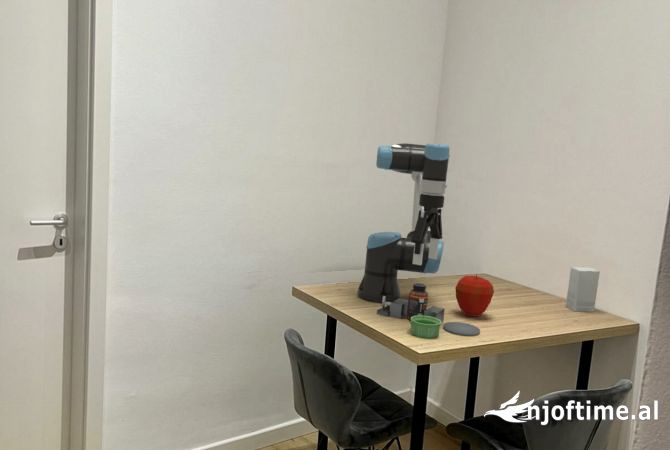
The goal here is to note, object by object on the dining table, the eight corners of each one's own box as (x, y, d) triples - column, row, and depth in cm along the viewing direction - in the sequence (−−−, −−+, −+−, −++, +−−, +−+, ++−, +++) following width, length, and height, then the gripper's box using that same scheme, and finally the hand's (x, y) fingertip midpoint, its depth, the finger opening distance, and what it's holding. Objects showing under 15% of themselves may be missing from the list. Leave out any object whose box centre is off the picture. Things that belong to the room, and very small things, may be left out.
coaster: (437, 330, 178) (438, 327, 178) (450, 322, 188) (450, 319, 187) (473, 338, 173) (473, 336, 172) (484, 330, 182) (484, 327, 182)
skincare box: (584, 307, 222) (590, 267, 220) (595, 312, 215) (601, 271, 213) (564, 306, 220) (570, 265, 218) (574, 311, 214) (580, 269, 212)
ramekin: (442, 333, 176) (444, 319, 175) (435, 341, 168) (437, 326, 167) (413, 327, 179) (415, 313, 179) (405, 335, 171) (406, 320, 170)
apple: (446, 313, 197) (451, 272, 195) (464, 307, 206) (468, 268, 204) (479, 323, 189) (485, 280, 187) (496, 317, 198) (502, 276, 196)
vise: (375, 313, 190) (376, 298, 189) (387, 308, 198) (389, 293, 197) (433, 328, 180) (435, 312, 179) (444, 321, 188) (446, 306, 187)
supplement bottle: (424, 323, 184) (428, 287, 183) (405, 320, 185) (409, 285, 184) (425, 318, 190) (429, 283, 188) (407, 315, 191) (410, 281, 189)
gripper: (429, 197, 170) (421, 269, 173) (456, 194, 191) (449, 258, 194) (405, 194, 173) (398, 264, 176) (434, 191, 195) (427, 254, 198)
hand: (425, 261), depth 185 cm, fingers open, 13 cm apart
